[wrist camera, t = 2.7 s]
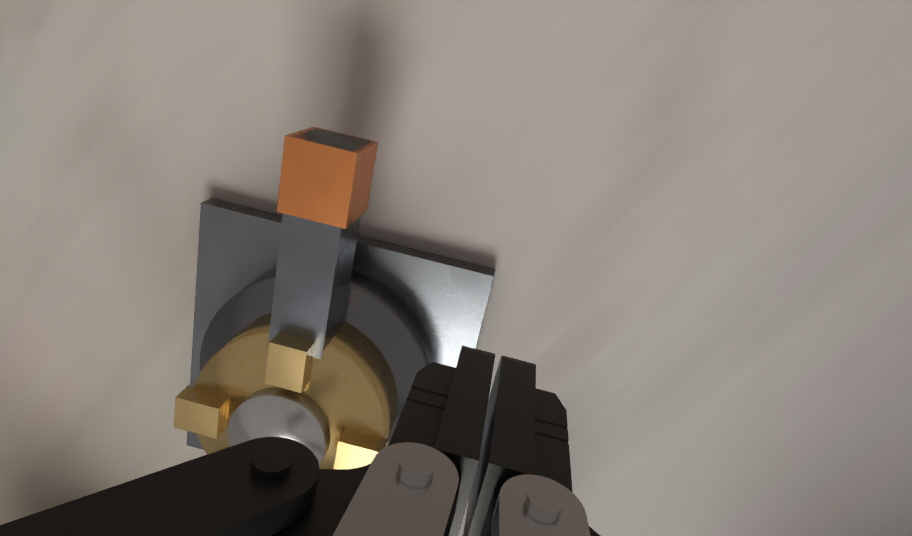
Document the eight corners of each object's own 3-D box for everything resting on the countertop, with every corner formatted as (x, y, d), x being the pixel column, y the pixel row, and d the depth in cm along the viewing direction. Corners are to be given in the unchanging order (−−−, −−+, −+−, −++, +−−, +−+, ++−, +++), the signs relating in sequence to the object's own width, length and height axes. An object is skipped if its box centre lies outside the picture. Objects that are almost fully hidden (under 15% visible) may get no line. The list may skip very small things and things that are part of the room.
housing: (495, 269, 30) (481, 334, 23) (434, 504, 35) (409, 614, 28) (211, 198, 30) (114, 240, 23) (195, 438, 36) (113, 530, 29)
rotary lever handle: (384, 489, 31) (363, 548, 27) (214, 442, 31) (170, 494, 28) (455, 160, 25) (439, 178, 21) (241, 108, 25) (189, 117, 21)
